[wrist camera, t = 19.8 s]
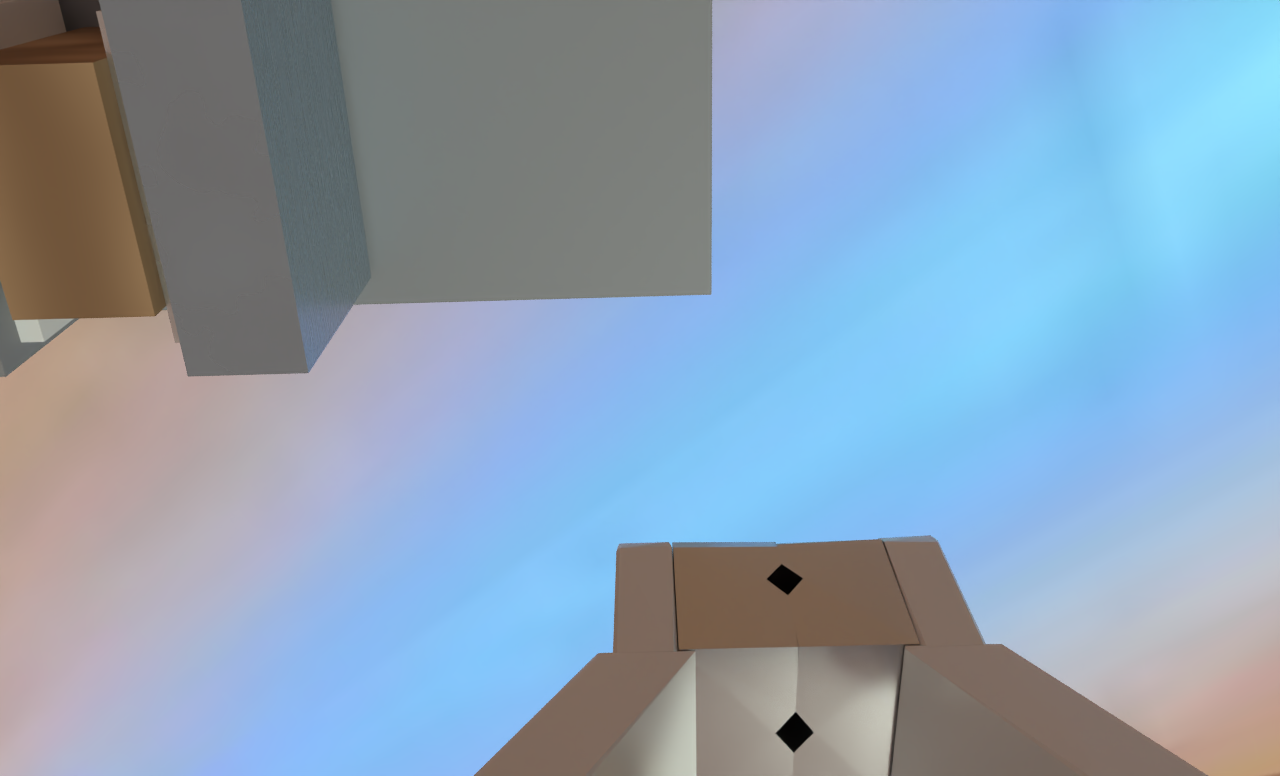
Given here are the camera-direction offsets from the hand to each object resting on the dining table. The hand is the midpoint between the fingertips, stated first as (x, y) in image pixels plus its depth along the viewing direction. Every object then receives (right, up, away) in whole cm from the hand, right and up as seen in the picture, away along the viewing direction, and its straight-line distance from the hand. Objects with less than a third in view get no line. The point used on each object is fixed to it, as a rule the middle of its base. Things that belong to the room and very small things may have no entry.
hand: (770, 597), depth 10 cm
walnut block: (-15, +10, +21) cm, 27 cm away
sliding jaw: (-11, +9, +20) cm, 25 cm away
